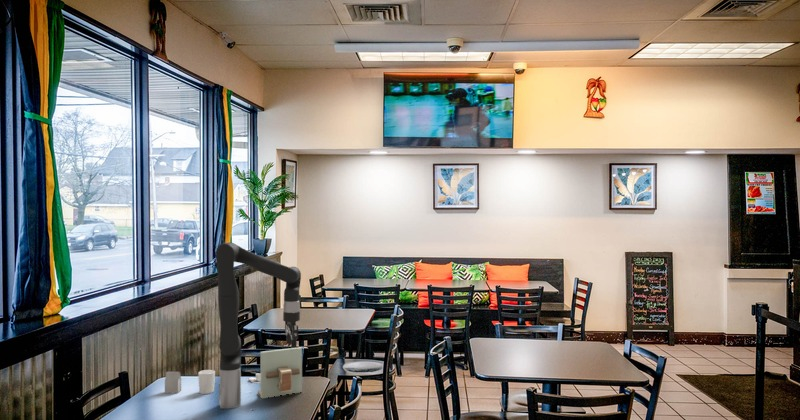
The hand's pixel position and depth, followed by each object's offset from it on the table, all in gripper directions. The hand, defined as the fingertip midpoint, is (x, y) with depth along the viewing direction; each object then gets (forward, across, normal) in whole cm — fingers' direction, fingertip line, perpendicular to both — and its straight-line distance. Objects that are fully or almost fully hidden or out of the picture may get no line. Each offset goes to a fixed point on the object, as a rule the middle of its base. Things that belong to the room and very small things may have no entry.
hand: (291, 345), depth 258 cm
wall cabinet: (+24, -13, 0) cm, 27 cm away
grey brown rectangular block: (+29, -48, -47) cm, 73 cm away
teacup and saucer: (+29, -50, -5) cm, 58 cm away
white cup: (+28, -40, -32) cm, 58 cm away
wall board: (+28, -20, 0) cm, 34 cm away
